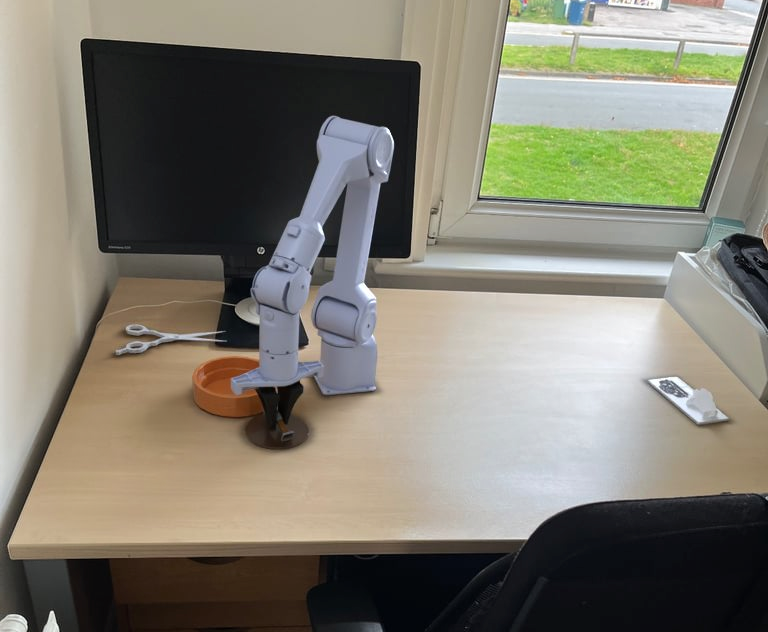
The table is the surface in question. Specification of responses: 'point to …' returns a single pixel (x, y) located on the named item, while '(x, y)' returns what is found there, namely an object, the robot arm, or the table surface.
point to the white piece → (689, 400)
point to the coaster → (275, 433)
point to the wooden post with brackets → (283, 428)
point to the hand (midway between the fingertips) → (277, 423)
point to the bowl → (225, 387)
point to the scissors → (164, 338)
